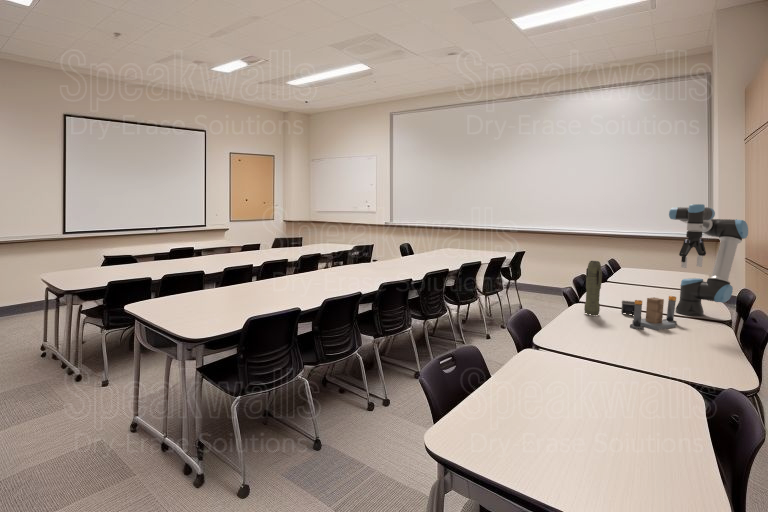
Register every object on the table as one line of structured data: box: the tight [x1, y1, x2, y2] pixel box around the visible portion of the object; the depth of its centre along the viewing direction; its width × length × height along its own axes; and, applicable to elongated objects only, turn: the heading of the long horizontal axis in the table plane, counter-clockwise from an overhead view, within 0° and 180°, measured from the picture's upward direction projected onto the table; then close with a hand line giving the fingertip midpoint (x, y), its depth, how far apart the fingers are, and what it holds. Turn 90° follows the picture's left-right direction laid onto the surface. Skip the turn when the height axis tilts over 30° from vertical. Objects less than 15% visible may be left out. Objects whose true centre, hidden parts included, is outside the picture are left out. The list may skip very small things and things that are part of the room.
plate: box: [632, 317, 676, 331], centre depth 259 cm, size 16×15×2 cm
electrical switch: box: [620, 299, 635, 316], centre depth 283 cm, size 9×5×9 cm, turn 57°
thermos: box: [583, 260, 603, 315], centre depth 282 cm, size 9×12×35 cm
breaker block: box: [645, 297, 665, 324], centre depth 258 cm, size 6×7×14 cm
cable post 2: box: [662, 295, 677, 325], centre depth 263 cm, size 7×7×16 cm
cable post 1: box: [629, 299, 645, 330], centre depth 253 cm, size 7×7×16 cm
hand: (691, 267), depth 255 cm, fingers open, 13 cm apart
